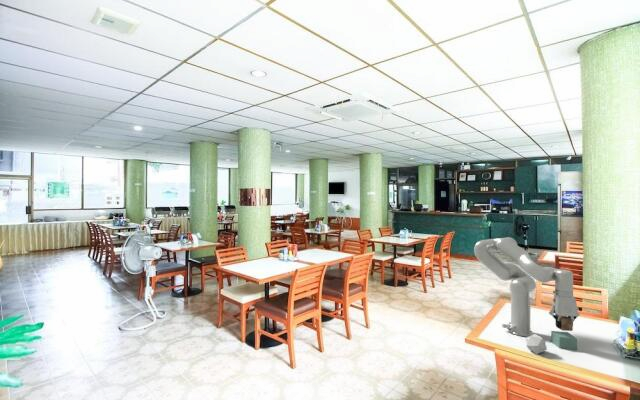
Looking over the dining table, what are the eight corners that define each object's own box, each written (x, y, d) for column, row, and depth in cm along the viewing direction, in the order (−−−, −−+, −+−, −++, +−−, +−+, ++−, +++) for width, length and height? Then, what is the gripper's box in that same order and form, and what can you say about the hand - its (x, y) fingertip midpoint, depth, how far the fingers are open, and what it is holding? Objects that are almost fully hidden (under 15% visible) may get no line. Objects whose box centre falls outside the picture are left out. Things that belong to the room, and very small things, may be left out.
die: (531, 347, 166) (520, 332, 165) (549, 343, 161) (538, 327, 160) (533, 359, 158) (521, 344, 158) (552, 356, 154) (540, 339, 153)
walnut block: (562, 330, 164) (562, 318, 164) (556, 326, 169) (556, 315, 169) (572, 330, 164) (572, 319, 164) (566, 327, 169) (566, 315, 169)
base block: (559, 348, 163) (559, 337, 163) (551, 341, 171) (551, 330, 171) (576, 350, 162) (577, 338, 162) (567, 343, 170) (567, 332, 170)
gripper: (551, 295, 164) (551, 330, 164) (586, 296, 162) (586, 331, 162) (542, 291, 171) (542, 324, 171) (576, 291, 170) (576, 325, 169)
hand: (564, 327), depth 166 cm, fingers closed on walnut block, 5 cm apart
